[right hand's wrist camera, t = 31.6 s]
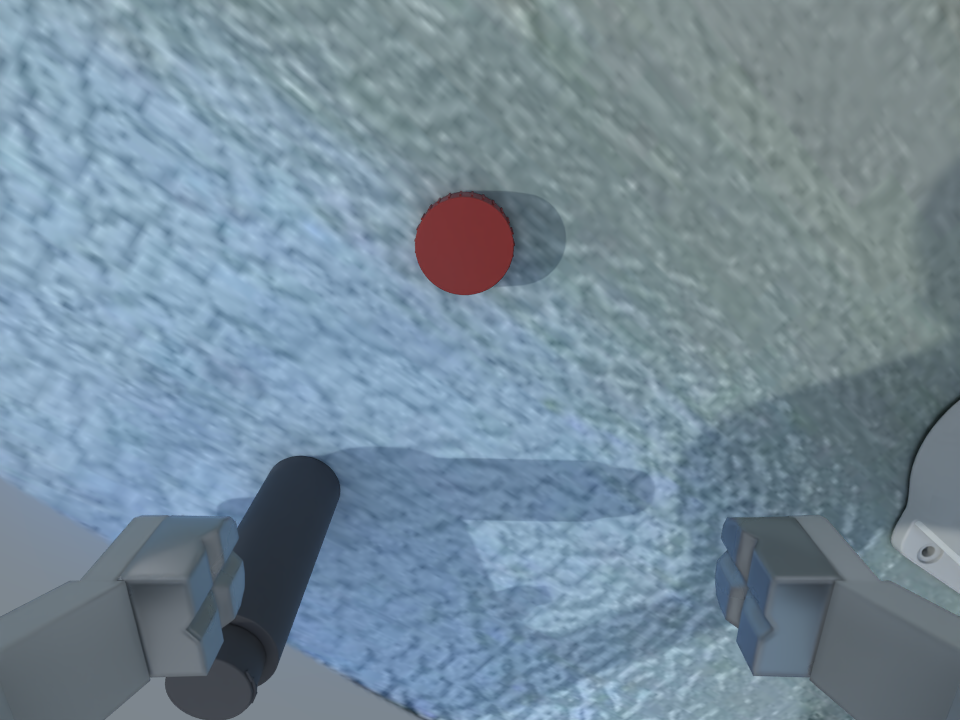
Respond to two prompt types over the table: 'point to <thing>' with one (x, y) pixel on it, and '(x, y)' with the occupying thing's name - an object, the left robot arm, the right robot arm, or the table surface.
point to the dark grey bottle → (265, 587)
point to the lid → (464, 243)
